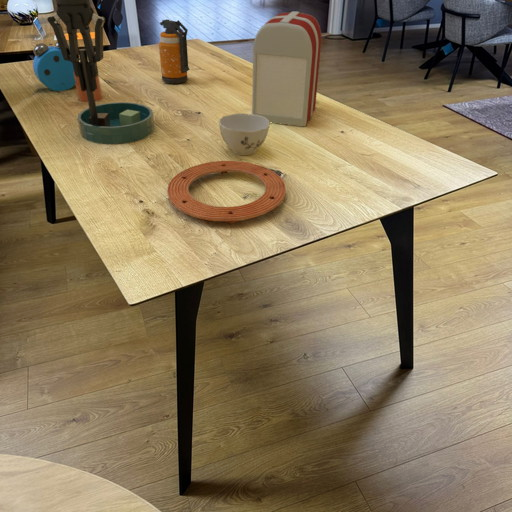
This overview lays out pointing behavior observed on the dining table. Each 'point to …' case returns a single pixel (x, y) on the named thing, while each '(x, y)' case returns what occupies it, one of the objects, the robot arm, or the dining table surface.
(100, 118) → the walnut block
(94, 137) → the bowl
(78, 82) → the holder
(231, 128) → the teacup
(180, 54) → the canister
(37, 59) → the alarm clock
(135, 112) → the sage block
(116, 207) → the dining table surface
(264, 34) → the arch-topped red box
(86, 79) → the stick
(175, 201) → the ring
